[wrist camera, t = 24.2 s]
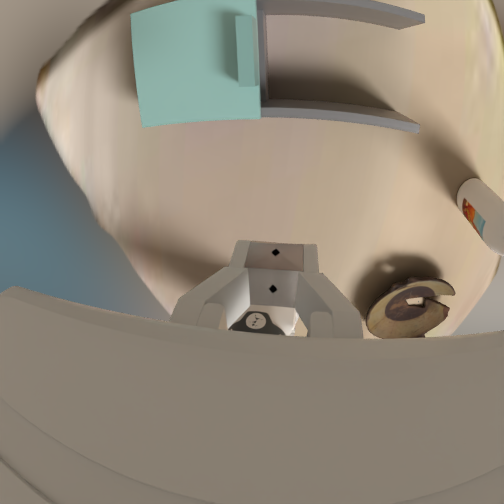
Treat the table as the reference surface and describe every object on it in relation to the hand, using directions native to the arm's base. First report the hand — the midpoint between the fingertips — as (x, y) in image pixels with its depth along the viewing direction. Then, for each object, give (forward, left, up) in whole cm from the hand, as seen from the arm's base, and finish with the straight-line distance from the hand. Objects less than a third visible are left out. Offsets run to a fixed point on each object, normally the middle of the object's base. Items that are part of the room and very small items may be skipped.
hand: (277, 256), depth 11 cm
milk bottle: (-10, -35, -34) cm, 50 cm away
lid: (+9, +11, -24) cm, 28 cm away
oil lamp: (-41, -30, -34) cm, 61 cm away
